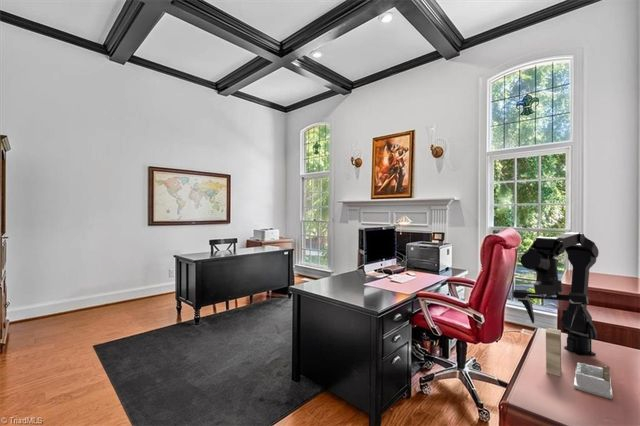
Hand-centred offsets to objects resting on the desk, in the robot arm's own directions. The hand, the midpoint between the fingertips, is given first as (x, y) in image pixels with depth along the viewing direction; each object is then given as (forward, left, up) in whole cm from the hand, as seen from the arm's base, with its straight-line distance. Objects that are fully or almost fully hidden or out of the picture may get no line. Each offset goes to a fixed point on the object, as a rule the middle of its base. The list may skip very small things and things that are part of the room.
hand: (550, 325), depth 94 cm
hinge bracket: (-9, +4, -16) cm, 19 cm away
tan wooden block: (-3, -3, -16) cm, 16 cm away
